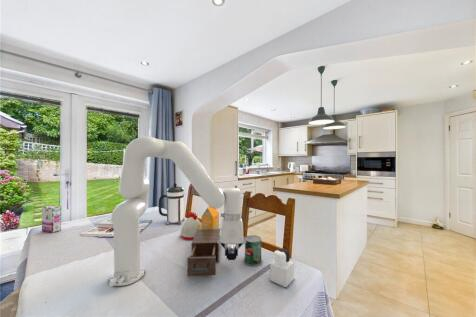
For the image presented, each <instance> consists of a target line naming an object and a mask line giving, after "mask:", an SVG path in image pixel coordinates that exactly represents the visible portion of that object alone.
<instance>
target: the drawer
mask: <svg viewBox="0 0 476 317" xmlns="http://www.w3.org/2000/svg"><path fill="white" fill-rule="evenodd" d="M190 253H191V252H190ZM216 264H217V262H216V245H195V246H194V248H193V251H192V253H191V254H190V256H187V259H186V271H187V272H186V275H187V277H216V274H217V272H216V271H217V270H216V269H217V266H216Z"/></svg>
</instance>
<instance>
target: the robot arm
mask: <svg viewBox="0 0 476 317" xmlns="http://www.w3.org/2000/svg"><path fill="white" fill-rule="evenodd" d="M147 158H160V159H167V160H171V161H172V162H173V163H174V165H176V167H177V168H178V169H179V170H180V172H181V173H182V174H183V175H184V176H185V177H186V179H187V180H188V182H189V183H190V185H192V187H193V188H194V190H195V191H196V193H197V194H198V195H199V196H200V198H201V199H202V200H203V201H204V202H205V204H206V205H207V206H208V207H209V206H210V207H211V208H214V209H216V210H217V209H220V208H222V207H223V213H220V217H221V218H222V219H221V224H220V237H219V238H218V240H217V243H218V244H220V246H221V247H222V248H223V249H224V257H226V258H225V259H226V260H228V247H229V246H228V245H235V246H234V248H235V260H237V257H238V256H239V249H240V248H241V247H242V246H243V245H245V243H246V240H245V236H244V222H243V219H242V218H241V217H242V216H241V214H242V191H241V190H240V189H239V188H236V187H231V188H223V187H218V186H217V185H216V184H215V182H214V181H213V180H212V178H211V177H210V176H209V174H208V172H207V170H206V168H205V167H204V165H203V164H202V163H201V162H200V161H199V159H198V158H197V157H196V156H195V154H194V153H193V152H192V151H191V150H190V148H189V146H188V145H187V143H185V142H183V141H180V140H176V141H171V140H165V139H160V138H159V139H158V138H156V137H154V136H151V135H150V136H148V135H144V136H139V137H137V138H134V139H133V140H131V141H130V142H129V143H128V144H127V145H126V147H125V150H124V153H123V159H122V166H121V171H120V179H119V184H118V192H119V194H120V196H121V197H123V198H124V199H125V200H124V201H121V202H120V203H118V204H117V205H116V206H115V207H114V209H113V210H112V213H111V224H112V228H113V273H112V274H111V275H110V277H109V282H108V286H109V287H110V288H112V287H123V286H127V285H131V284H134V283H136V282H137V281H139V280H140V279H142V277H143V276H144V274H145V268H144V267H142V266H141V229H140V228H141V227H140V223H139V219H140V218H142V216H143V215H144V214H145V212H147V211H146V210H147V208H148V203H149V202H148V201H149V194H150V180H149V177H148V176H146V175H145V170H146V159H147Z"/></svg>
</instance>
